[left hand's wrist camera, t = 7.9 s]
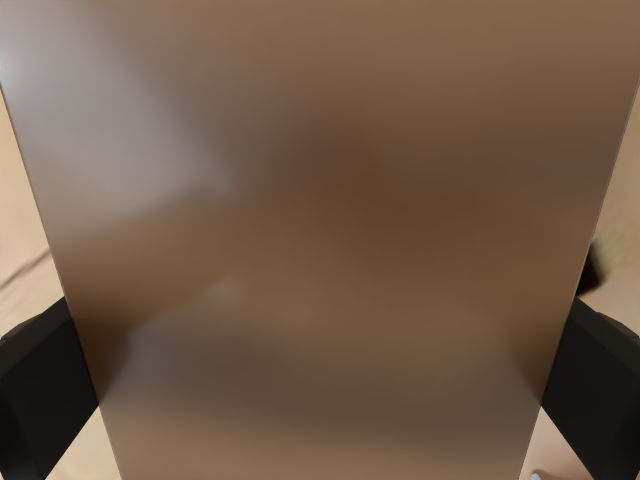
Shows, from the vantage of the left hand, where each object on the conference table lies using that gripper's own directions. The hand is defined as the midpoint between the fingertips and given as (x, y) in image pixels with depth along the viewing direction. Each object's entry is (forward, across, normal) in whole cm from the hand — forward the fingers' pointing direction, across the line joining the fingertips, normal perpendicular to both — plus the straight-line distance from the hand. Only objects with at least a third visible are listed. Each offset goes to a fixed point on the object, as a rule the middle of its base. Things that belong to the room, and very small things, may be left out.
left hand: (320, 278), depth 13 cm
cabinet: (+4, 0, -6) cm, 7 cm away
